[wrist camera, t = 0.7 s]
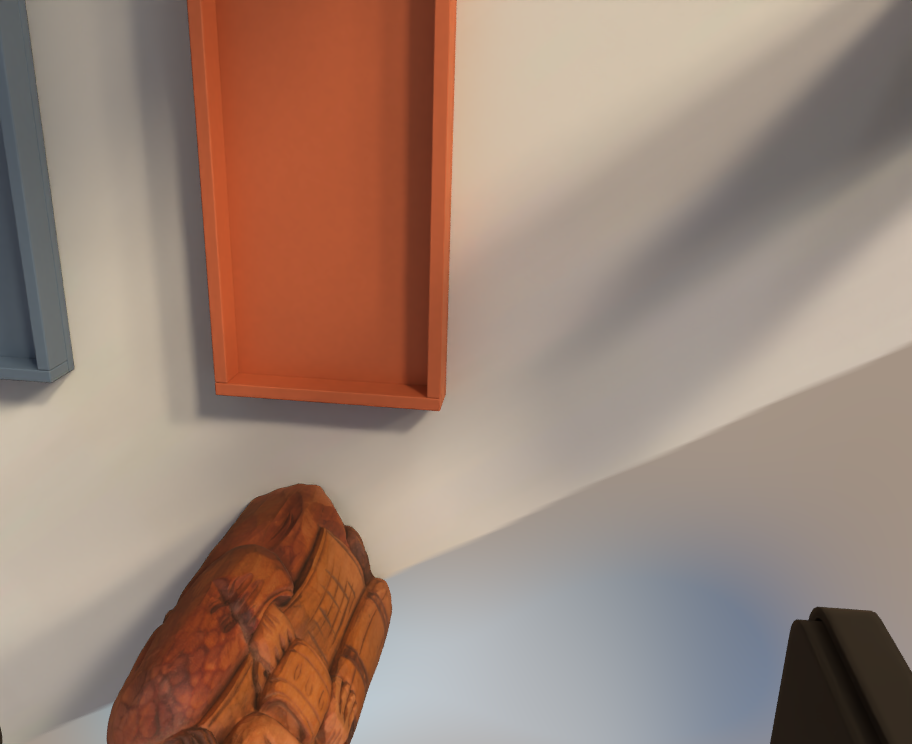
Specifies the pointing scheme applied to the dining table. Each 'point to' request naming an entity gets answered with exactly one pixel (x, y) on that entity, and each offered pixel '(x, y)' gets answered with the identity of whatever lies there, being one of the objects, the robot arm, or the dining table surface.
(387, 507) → the dining table surface
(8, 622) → the dining table surface
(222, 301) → the terracotta tray
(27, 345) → the slate tray
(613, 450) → the dining table surface
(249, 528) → the wooden figurine
